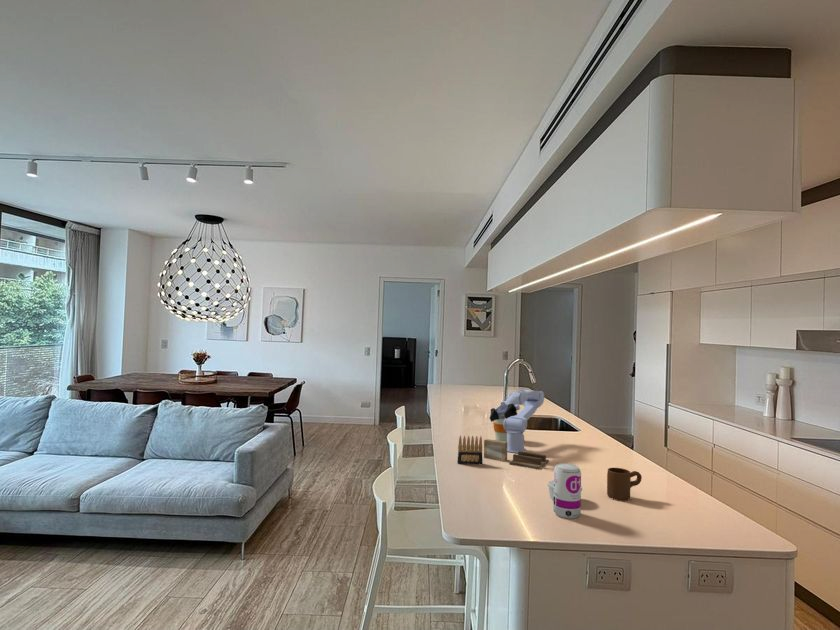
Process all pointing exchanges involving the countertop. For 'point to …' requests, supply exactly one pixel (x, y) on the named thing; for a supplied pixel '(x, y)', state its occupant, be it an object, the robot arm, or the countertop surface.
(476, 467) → the countertop surface
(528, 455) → the notched stand
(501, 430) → the reusable coffee cup
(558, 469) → the supplement can
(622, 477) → the mug
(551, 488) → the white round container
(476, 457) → the ammunition clip
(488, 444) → the beige wooden block
